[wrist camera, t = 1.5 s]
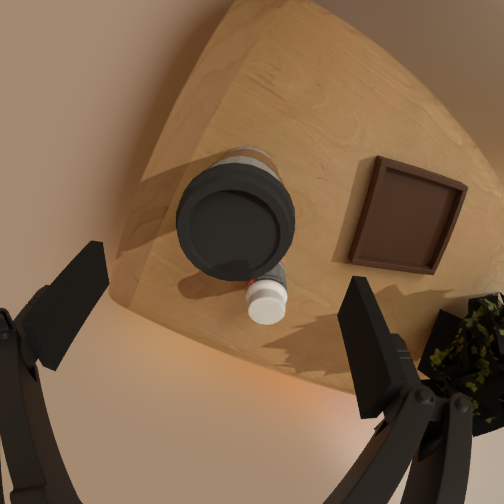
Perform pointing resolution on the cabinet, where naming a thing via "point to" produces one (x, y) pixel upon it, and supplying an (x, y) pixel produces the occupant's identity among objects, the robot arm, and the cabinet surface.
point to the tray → (406, 218)
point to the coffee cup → (236, 217)
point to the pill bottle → (267, 296)
